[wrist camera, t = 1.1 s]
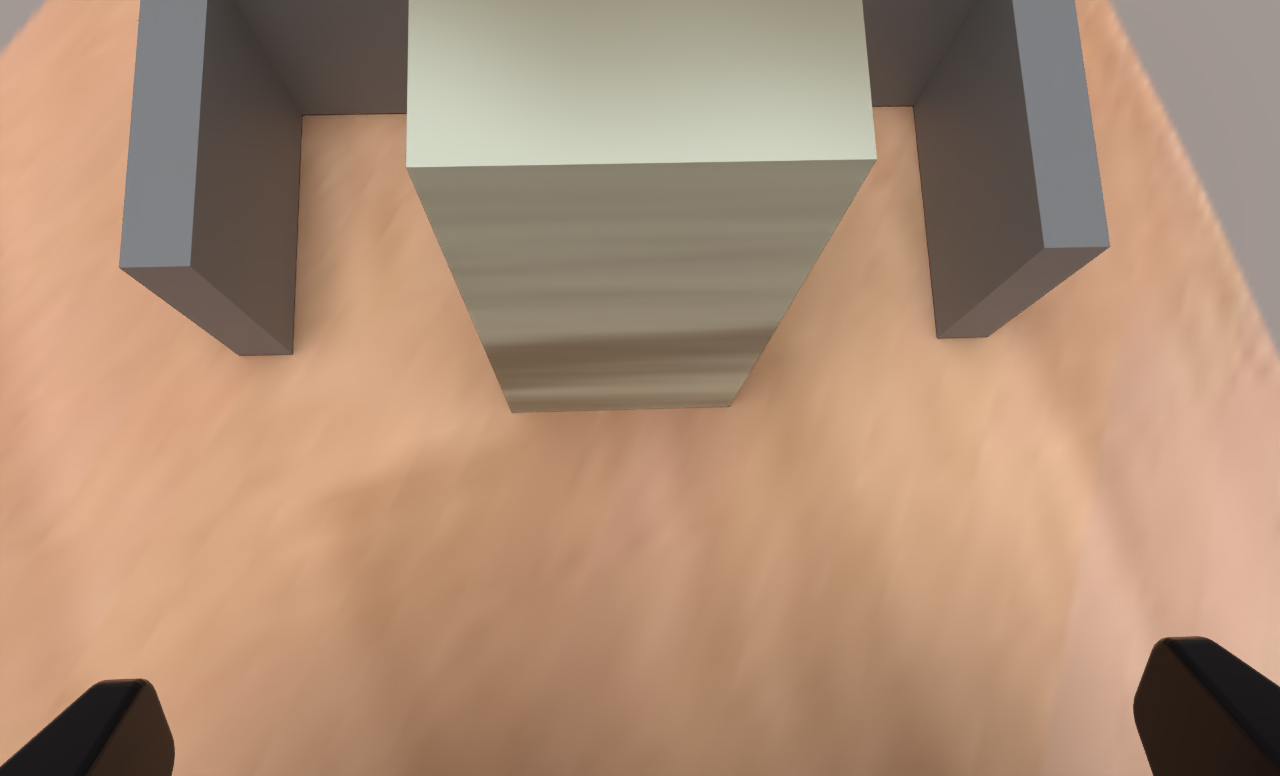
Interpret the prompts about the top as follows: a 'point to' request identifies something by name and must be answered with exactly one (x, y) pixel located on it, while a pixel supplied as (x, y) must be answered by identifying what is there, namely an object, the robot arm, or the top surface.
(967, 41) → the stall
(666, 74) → the sage block
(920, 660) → the top surface
